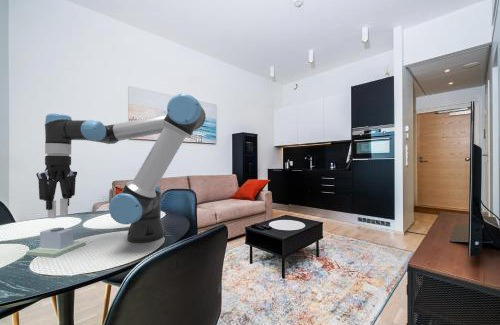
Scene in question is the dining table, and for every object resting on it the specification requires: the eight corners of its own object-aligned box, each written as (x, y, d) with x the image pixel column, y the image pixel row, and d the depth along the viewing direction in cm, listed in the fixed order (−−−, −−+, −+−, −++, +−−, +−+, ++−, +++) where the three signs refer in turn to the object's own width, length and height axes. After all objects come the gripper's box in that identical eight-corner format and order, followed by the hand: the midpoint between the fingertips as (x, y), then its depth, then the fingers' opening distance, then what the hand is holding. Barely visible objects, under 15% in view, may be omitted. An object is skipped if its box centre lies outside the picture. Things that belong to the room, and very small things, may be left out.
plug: (73, 244, 84) (73, 227, 84) (60, 249, 80) (60, 231, 80) (54, 243, 86) (54, 226, 86) (40, 247, 81) (40, 230, 81)
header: (85, 244, 88) (85, 231, 88) (54, 257, 76) (54, 242, 76) (60, 242, 90) (60, 230, 90) (26, 255, 78) (26, 240, 78)
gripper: (71, 156, 92) (71, 211, 92) (24, 154, 75) (23, 222, 75) (86, 156, 90) (86, 212, 90) (42, 154, 74) (41, 223, 74)
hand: (58, 216), depth 83 cm, fingers open, 4 cm apart
